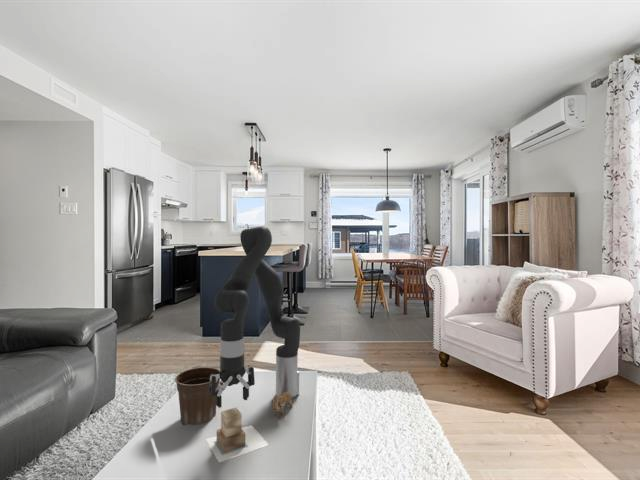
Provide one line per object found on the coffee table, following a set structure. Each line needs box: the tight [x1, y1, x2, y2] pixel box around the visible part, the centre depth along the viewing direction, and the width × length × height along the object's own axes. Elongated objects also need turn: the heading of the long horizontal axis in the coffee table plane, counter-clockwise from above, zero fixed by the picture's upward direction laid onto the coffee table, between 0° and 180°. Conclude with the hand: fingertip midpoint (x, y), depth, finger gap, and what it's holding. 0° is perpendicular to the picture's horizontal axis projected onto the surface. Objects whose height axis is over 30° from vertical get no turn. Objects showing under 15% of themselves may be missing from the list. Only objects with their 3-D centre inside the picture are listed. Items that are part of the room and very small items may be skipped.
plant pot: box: [174, 366, 221, 426], centre depth 127 cm, size 16×16×16 cm
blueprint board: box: [205, 425, 270, 464], centre depth 111 cm, size 16×14×1 cm
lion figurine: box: [272, 392, 293, 418], centre depth 132 cm, size 15×5×9 cm, turn 169°
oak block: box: [220, 407, 243, 437], centre depth 110 cm, size 5×5×6 cm
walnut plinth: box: [216, 428, 245, 453], centre depth 110 cm, size 7×7×4 cm
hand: (232, 402), depth 110 cm, fingers open, 8 cm apart
